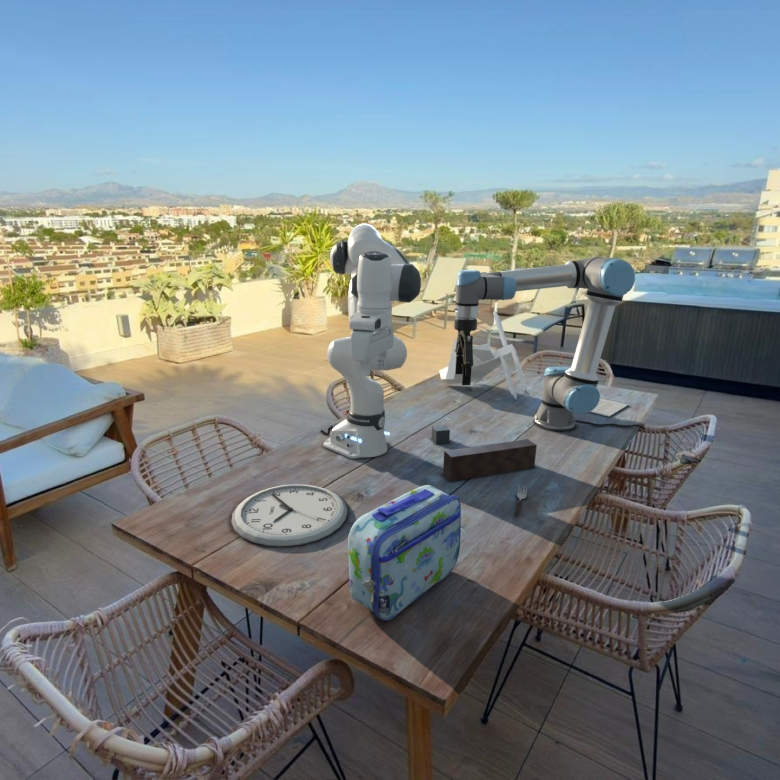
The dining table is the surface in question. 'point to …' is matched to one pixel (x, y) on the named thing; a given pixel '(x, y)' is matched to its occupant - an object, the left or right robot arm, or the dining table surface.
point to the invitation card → (608, 407)
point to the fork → (521, 496)
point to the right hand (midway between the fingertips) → (462, 379)
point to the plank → (489, 459)
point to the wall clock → (289, 515)
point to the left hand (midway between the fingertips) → (374, 371)
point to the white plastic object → (487, 362)
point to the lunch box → (403, 549)
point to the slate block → (440, 434)
